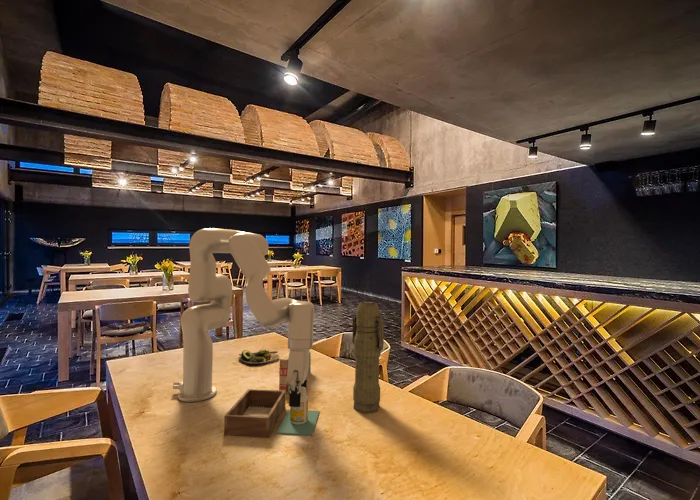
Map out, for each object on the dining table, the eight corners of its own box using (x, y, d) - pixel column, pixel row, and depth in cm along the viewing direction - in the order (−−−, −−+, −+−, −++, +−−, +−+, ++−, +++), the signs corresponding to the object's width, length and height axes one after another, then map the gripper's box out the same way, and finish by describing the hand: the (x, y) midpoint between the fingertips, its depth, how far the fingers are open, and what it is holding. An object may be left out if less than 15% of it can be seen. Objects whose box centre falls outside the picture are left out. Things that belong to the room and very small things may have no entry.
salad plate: (269, 351, 176) (269, 342, 176) (288, 359, 163) (288, 350, 163) (233, 359, 162) (233, 349, 162) (251, 368, 150) (251, 358, 150)
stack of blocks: (296, 372, 146) (297, 343, 146) (310, 373, 145) (311, 344, 145) (278, 392, 125) (279, 358, 125) (295, 393, 124) (295, 359, 124)
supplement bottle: (297, 427, 99) (298, 394, 99) (286, 420, 103) (286, 389, 103) (311, 420, 104) (312, 388, 104) (299, 414, 107) (300, 383, 107)
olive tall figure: (357, 398, 121) (359, 299, 121) (388, 406, 114) (389, 302, 115) (344, 407, 113) (345, 302, 113) (375, 417, 107) (377, 305, 107)
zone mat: (276, 433, 96) (276, 432, 96) (288, 410, 110) (288, 409, 110) (312, 435, 96) (312, 434, 96) (319, 412, 110) (319, 410, 110)
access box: (268, 438, 94) (268, 418, 94) (223, 435, 95) (224, 416, 95) (285, 407, 113) (285, 390, 113) (247, 405, 113) (248, 389, 113)
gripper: (294, 334, 112) (292, 386, 112) (280, 350, 95) (278, 411, 95) (317, 336, 112) (314, 388, 112) (307, 352, 94) (304, 413, 94)
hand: (298, 399), depth 103 cm, fingers open, 9 cm apart
